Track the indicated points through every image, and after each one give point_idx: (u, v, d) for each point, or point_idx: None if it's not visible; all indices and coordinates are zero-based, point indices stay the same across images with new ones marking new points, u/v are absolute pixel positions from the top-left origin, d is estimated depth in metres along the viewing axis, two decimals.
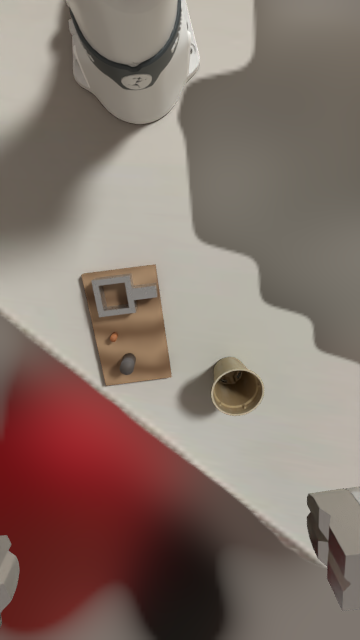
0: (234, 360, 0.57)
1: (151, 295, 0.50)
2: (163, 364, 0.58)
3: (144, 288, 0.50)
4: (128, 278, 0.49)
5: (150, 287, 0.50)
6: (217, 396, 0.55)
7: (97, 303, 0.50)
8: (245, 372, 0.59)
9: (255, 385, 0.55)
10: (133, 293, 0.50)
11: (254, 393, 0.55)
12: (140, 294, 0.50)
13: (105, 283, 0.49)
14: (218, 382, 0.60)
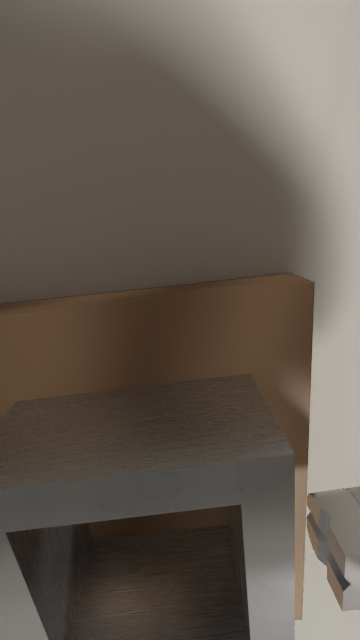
0: None
1: None
2: None
3: None
4: None
5: None
6: None
7: (75, 487, 0.05)
8: None
9: None
10: None
11: None
12: None
13: (256, 551, 0.06)
14: None
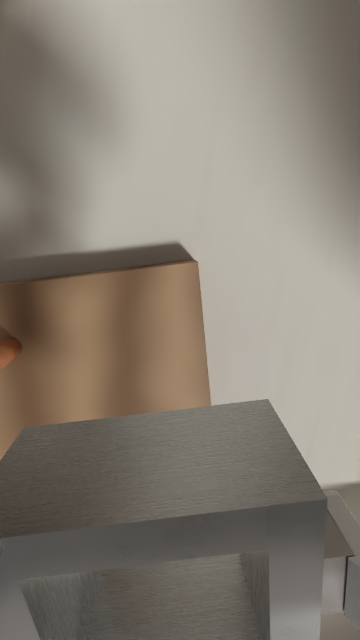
0: None
1: None
2: None
3: None
4: None
5: None
6: None
7: (94, 534, 0.05)
8: None
9: None
10: None
11: None
12: None
13: (282, 596, 0.06)
14: None
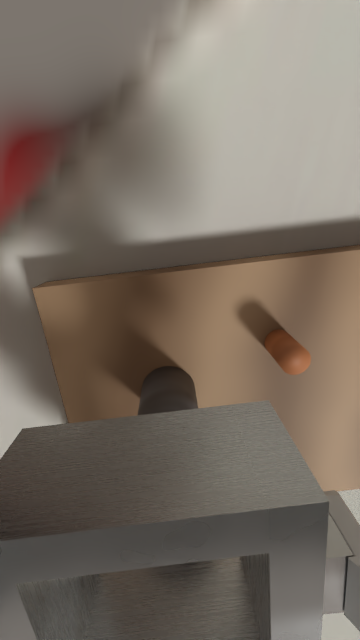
0: None
1: None
2: None
3: None
4: None
5: None
6: None
7: (93, 537, 0.05)
8: None
9: None
10: None
11: None
12: None
13: (283, 600, 0.05)
14: None
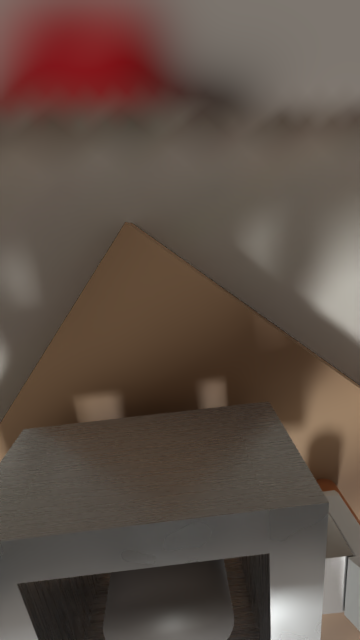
0: None
1: None
2: None
3: None
4: None
5: None
6: None
7: (94, 538, 0.05)
8: None
9: None
10: None
11: None
12: None
13: (283, 600, 0.06)
14: None
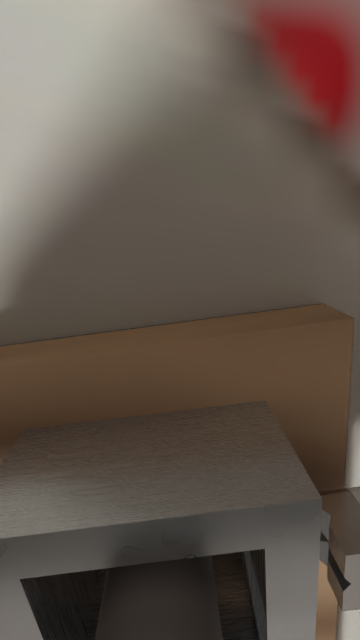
0: None
1: None
2: None
3: None
4: None
5: None
6: None
7: (94, 534, 0.05)
8: None
9: None
10: None
11: None
12: None
13: (278, 594, 0.06)
14: None
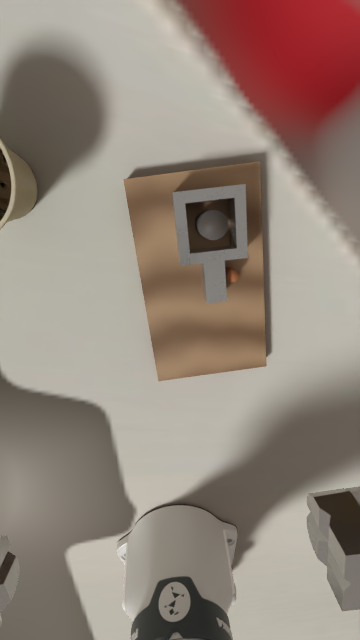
0: None
1: (210, 294, 0.29)
2: (141, 210, 0.29)
3: (223, 282, 0.29)
4: (243, 255, 0.28)
5: (224, 292, 0.29)
6: None
7: (201, 191, 0.26)
8: None
9: None
10: (215, 263, 0.28)
11: None
12: (212, 275, 0.28)
13: (238, 212, 0.27)
14: (19, 158, 0.27)
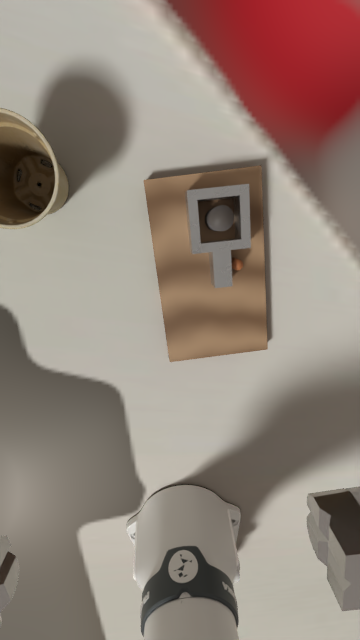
0: (31, 215, 0.32)
1: (218, 279, 0.33)
2: (158, 207, 0.33)
3: (229, 269, 0.33)
4: (246, 245, 0.32)
5: (230, 278, 0.33)
6: (46, 150, 0.27)
7: (211, 189, 0.30)
8: (6, 185, 0.32)
9: None
10: (223, 252, 0.32)
11: None
12: (220, 263, 0.32)
13: (242, 207, 0.31)
14: None
